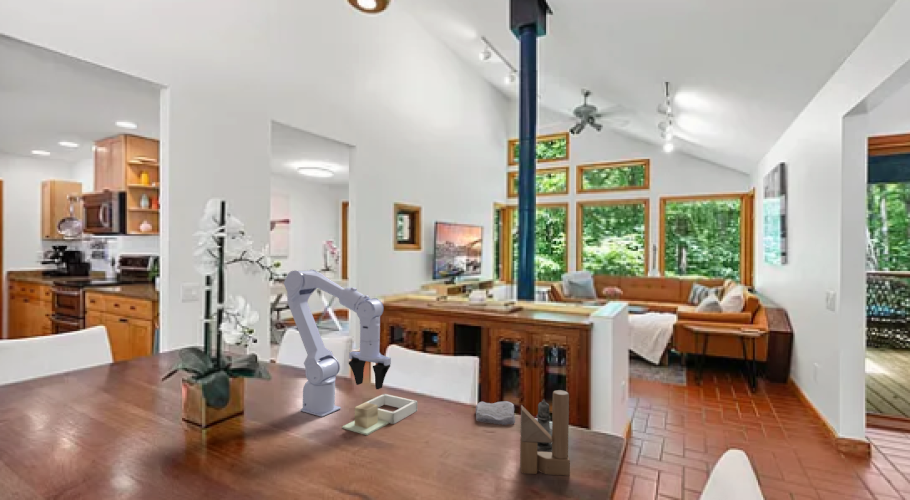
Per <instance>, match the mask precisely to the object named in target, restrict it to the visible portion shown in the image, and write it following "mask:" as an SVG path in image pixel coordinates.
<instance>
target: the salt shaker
mask: <svg viewBox="0 0 910 500" xmlns="http://www.w3.org/2000/svg"><path fill="white" fill-rule="evenodd" d="M536 418H537V421H538V422H539V424H540V425H541V426H542V427H543V428H544V429H545V430H546V431H547V432H548V433H549V434H550V435H551V437H552V428H551V425H550V420H551V418H552V417H551V416H550V404H549V403H548V402H546V399H545V398H543V399H542V401H540V402H539V403H538V404H537V414H536ZM537 443H538V446H537V450H540V451H552V443H545V442H537Z"/></svg>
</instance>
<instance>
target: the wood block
mask: <svg viewBox="0 0 910 500" xmlns="http://www.w3.org/2000/svg"><path fill="white" fill-rule="evenodd" d="M366 402H367V401H365V402H363V403H361V405H360V404H358V405H356V406H355V407H354V420H355V425H356V426H360V427H363V428H369V427H371V426H373V425H374V424H376V423H378V408H379V407H378V405H375V404H370V403H366Z"/></svg>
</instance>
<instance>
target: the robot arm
mask: <svg viewBox="0 0 910 500" xmlns="http://www.w3.org/2000/svg"><path fill="white" fill-rule="evenodd" d="M283 285H284V287H285V290H286V293H287V294H286V296H287V301H286V302H287V305H288V307H289V310H290V313H291V315H292V318H293V320H294V322H295V326H296V329H297V331H298V334H299V337H300V339H301V341H302V344H303V346H304V349H305V351H306V352H305V353H306V354H307V355H306V357H305V360H304V362H303V365H304V368H305V377H306V380H307V381H306V382H304V383H305V384H304V385H303V389H302V408H300V410H299V411H300V412H303V413H307V414H311V415H315V416H318V417H325V416H327V415H330V414H332V413H334V412H336V411H338V410H340V409H342V408H341V406H338V405H336V404H335V403H336V379H337V376H338V374H339V373H340V370H341V365H340V364H341V363H340V362H339V360H338V359H337V358H336V357H335V356H334V354H333V351H332V350H330V349H328V348H327V347H326V346H325V343H324V340H323V338H322V335H321V334H320V331H319V329H318V326H317V323H316V321H315V318H314V316H313V313H312V310H311V308H310V305H309V303H308V301H309V299H310V297H312V295H313V294H314V292H315V291H316V290H317V289H319V290H321V291H323V292H325V293H327V294H329V295H331V296H333V297H334V298H337V299H338V302H339V304H340V305H342V306H344V307H345V308H347V309H349V310H351V311H352V312H354V313H356V315H357V317H358V318H359V326H360V327H359V331H360V332H359V351H355V350H352V351H350V352H348V359H350V360H349V361H348V365H349V367H350V369H351V370H352V374H353V377H354V381H355V384H356V385H357V386H359V385H361V384H363V382H364V371H365V366H366V362H368V363H369V362H370V363H375V365H372V370H373V373H374V379H375V380H374V382H375V384H374V387H375V390H379V389H382V388H383V386H384V382H385V378H386V375H387V373H388V371H389V370H390V367H391V365H392V358H391V357H388V356H385V355H383V354H382V353H381V352H380V344H381V342H380V337H381V336H380V335H381V334H380V333H381V327H380V326H381V316H382V315H383V313H384V304H383V302H382V301H381V300H380V299H379V298H378V297H377V298H375V297H374V298H370V295H368V294H364V293H362V292H360V291H358V288H357V287H354V286H352V287H350V286H348V287H346V288H344V287H343V286H341V285H340V284H338V283H337V282H335V281H334V280H331V279H330V278H328V277H327V276H325V275H324V274H323V273H322V272H318V271H317V270H316V269H307V270H291V271H290V272H288V273H287V275H286V277H285V279H284V282H283Z"/></svg>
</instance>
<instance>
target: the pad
mask: <svg viewBox="0 0 910 500" xmlns="http://www.w3.org/2000/svg"><path fill="white" fill-rule="evenodd" d="M387 425H389V423H388V422H387V421H383V420H379V419H378V423H376V424H374V425H373V426H371V427H369V428H363V427H360V426H356V425H355V419H353V420H352V421H350V422H349V423H346V424H344V425H342V427H341V428H342V429H344V430H347V431H351V432H354V433H358V434H360V435H365V436H369V435H371V434H373V433H374V432H376V431H378V430H379V429H382V428H383V427H385V426H387Z"/></svg>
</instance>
